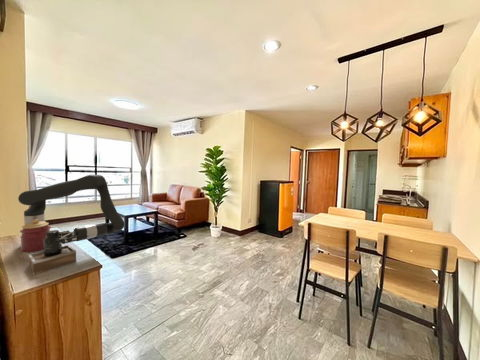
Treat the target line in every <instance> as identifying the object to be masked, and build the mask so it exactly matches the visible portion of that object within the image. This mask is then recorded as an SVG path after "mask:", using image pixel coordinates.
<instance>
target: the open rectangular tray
mask: <svg viewBox="0 0 480 360" xmlns="http://www.w3.org/2000/svg"><path fill="white" fill-rule="evenodd" d="M27 256H28V258H27V259H28V260H27V261H28V268H29V270H30V271H31V273H32V274H33V275H37V274H40V273H43V272H45V271H49V270H53V269H56V268H60V267H62V266H66V265H70V264H73V263H76V262H77V250H76V249H75V248H73V247H72V246H71V245H70V244H67V245H62V252H61V253H60V254H58V255H55V256H50V257H47V256H44V250H40V251H35V252H31V253H29V254H27Z"/></svg>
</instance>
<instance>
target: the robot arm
mask: <svg viewBox="0 0 480 360" xmlns="http://www.w3.org/2000/svg"><path fill="white" fill-rule="evenodd" d="M86 190H87V191H88V190H97V192H98V194H99V198H100V209H101V211H102V213H103V216H104V217H105V219H106V220H109V222H106V223H104V222H101V223H96V224H89V225H83V226H77V227H75V228H74V229H73V231H70V230H64V231H59V235H60V236H61V237H62V238H59V239H54V240H50V241H49V245H53V244H57V243H62V245H65V244H68V243H69V244H70V243H73V242H80V241H84V240H88V239H93V238H95V237H100V236H103V235H109V234H114V233H117V232H118V233H119V231H121V230H123V229H124V228H125V226H126V225H125V221H124V219H123V218H122V216H121V215H120V214H119V212H118V211H117V209H116V207H115V205H114V202H113V201H112V200H113V199H112V197H111V194H110V191H109V187H108V184H107V180H106V178H105V177H104V176H103V175H100V174H88V175H87V174H86V175H85V176H82V177H79V178H77V179H74V180H73V179H72V180H67V181H63V182H62V181H61V182H59V183H58V182H57V183H55V184H52V185H47V186H45V187H42V188H39V189H32V190H31V189H30V190H25V191H23V192H21V193H20V194H19V195H18V197H17V199H18V202H19V203H20V204H22V205H24V206H30V207H28V208H27V209H26V210H24V211H23V219H24V220H23V221H24V223H23V225H25V224H27V223H31V222H33V220H35V219H37V220H39V221H45V211H46V206H47V200H48V201H49V200H54V199H61V198H65V197H69V196H72V195H74V194H76V193H77V192H81V191H86ZM45 222H46V221H45ZM46 237H47V236H46ZM46 237H45V238H46Z"/></svg>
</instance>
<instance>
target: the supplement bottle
mask: <svg viewBox="0 0 480 360" xmlns="http://www.w3.org/2000/svg"><path fill="white" fill-rule="evenodd" d="M59 232H60V230H58V229H55V230H50V231H48V232H46V236H47V237H46V238H44V249H43V251H44V256H47V257H50V256H55V255H58V254H60V253H61V252H62V246H63V244H62V243H57V244H53V245H49V241H50V240H54V239H59V238H62V237H61V236H60V235H59Z"/></svg>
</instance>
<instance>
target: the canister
mask: <svg viewBox="0 0 480 360" xmlns="http://www.w3.org/2000/svg"><path fill="white" fill-rule="evenodd" d="M49 224H50V223H49V222H47V221H39V220H37V219H35V220H33V222H31V223H27V224H23V225H22V226H21V228H22V229H20V230H19V232H20V233H21V235H20V236H19V237H20V250H21V252H22V253H35V252H40V251H44V238H45V237H46V232H48V231H51V230H50V229H51V228H52V227H51V225H49Z"/></svg>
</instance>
